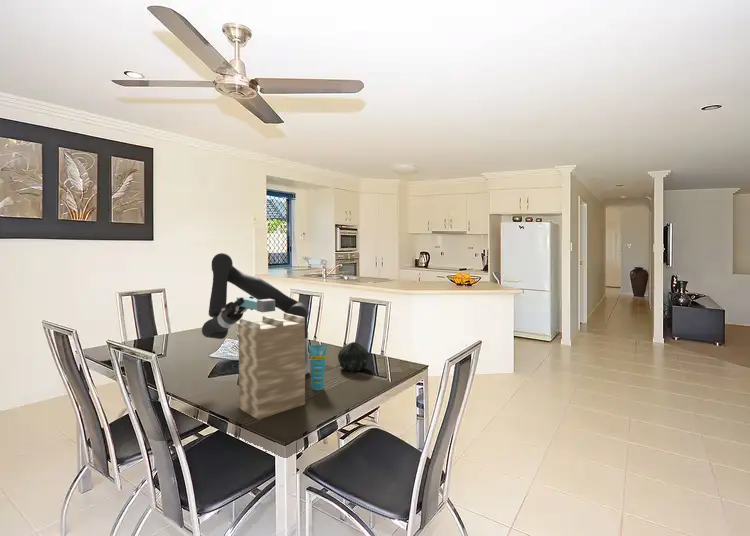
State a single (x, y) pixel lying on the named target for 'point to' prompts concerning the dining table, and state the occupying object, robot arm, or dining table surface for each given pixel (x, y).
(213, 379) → the dining table surface
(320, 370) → the tube
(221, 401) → the dining table surface
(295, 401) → the notched wooden tower
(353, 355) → the squash
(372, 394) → the dining table surface
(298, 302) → the robot arm
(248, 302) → the bar
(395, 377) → the dining table surface
